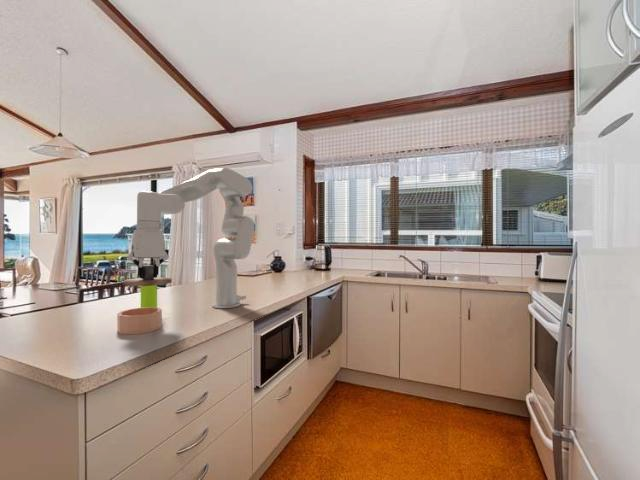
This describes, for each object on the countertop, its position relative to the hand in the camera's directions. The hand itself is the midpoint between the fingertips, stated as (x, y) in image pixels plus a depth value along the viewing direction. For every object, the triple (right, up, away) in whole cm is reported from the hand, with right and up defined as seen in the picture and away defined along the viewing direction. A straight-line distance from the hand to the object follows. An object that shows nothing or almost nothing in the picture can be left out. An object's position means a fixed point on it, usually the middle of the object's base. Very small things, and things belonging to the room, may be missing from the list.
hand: (148, 277), depth 110 cm
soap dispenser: (-9, -18, +17) cm, 26 cm away
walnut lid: (0, -2, 0) cm, 2 cm away
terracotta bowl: (-2, -18, -1) cm, 18 cm away
